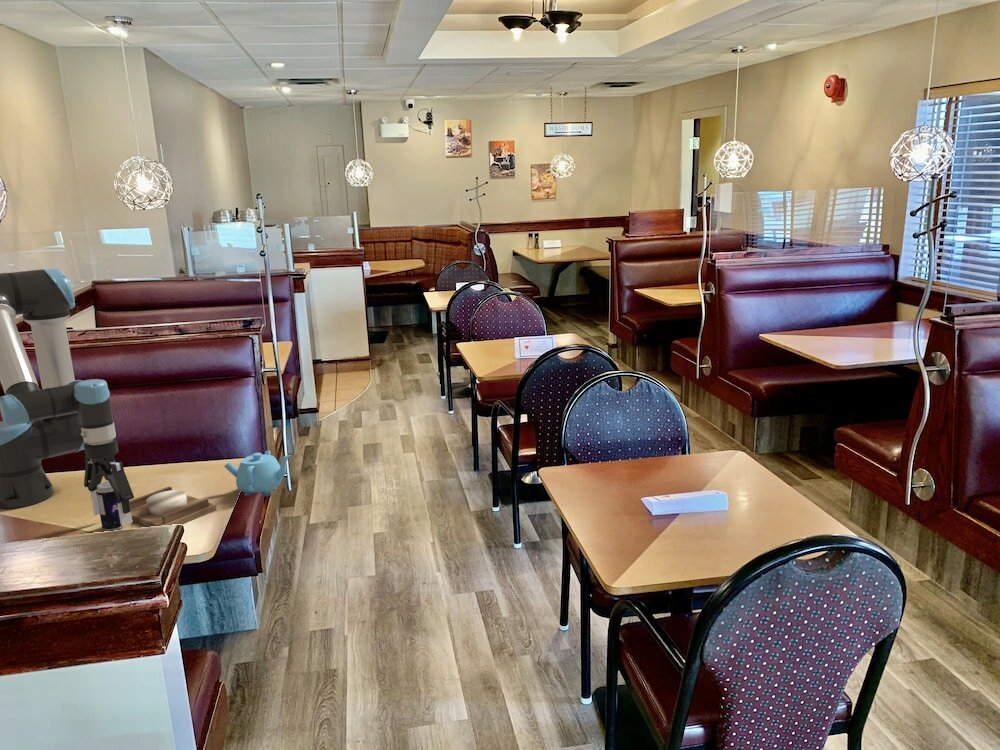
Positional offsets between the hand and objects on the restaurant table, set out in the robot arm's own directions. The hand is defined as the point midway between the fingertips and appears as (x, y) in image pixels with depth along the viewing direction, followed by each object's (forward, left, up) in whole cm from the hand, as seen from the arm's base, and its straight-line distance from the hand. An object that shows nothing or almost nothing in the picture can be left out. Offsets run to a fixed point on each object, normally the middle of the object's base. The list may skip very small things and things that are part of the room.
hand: (113, 518), depth 202 cm
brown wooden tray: (+4, +13, -2) cm, 14 cm away
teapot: (+13, +37, -3) cm, 39 cm away
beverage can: (0, 0, -3) cm, 3 cm away
